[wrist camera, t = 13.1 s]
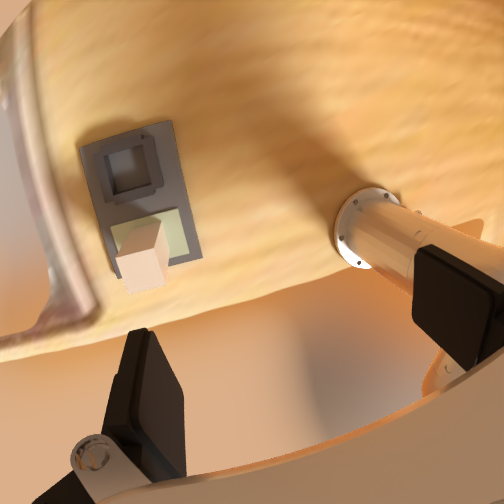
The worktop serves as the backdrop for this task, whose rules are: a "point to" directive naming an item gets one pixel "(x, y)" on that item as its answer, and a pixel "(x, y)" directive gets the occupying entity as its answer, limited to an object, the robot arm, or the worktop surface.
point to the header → (141, 189)
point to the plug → (144, 258)
